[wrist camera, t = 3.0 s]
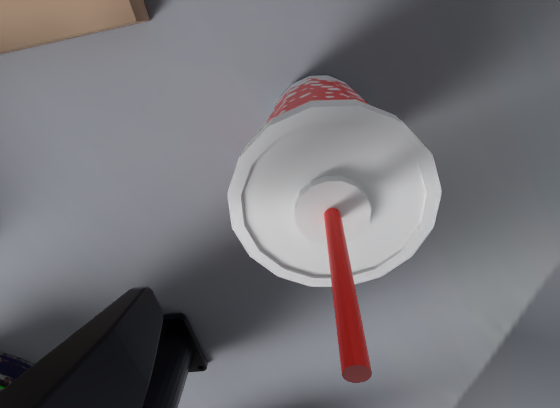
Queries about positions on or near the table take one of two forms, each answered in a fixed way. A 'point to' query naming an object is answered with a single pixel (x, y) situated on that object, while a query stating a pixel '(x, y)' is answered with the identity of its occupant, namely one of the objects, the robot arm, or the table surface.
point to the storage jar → (11, 369)
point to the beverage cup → (334, 199)
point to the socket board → (62, 20)
